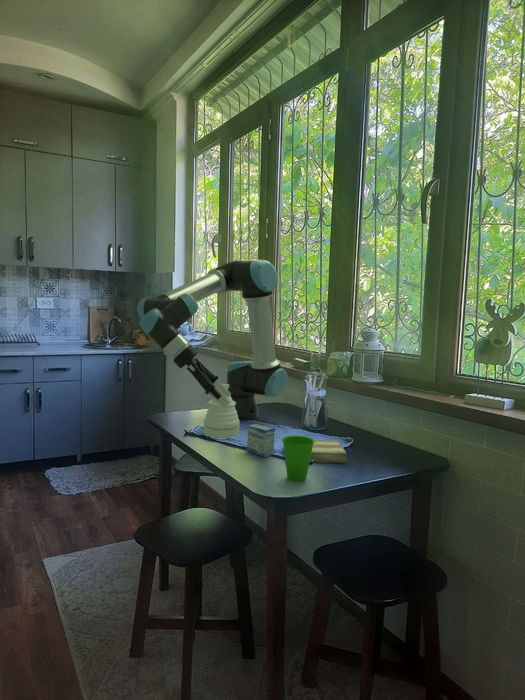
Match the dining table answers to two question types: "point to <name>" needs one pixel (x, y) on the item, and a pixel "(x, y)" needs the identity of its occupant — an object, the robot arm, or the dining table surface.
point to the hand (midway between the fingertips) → (227, 401)
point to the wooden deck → (327, 451)
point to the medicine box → (260, 440)
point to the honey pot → (221, 419)
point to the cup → (297, 456)
